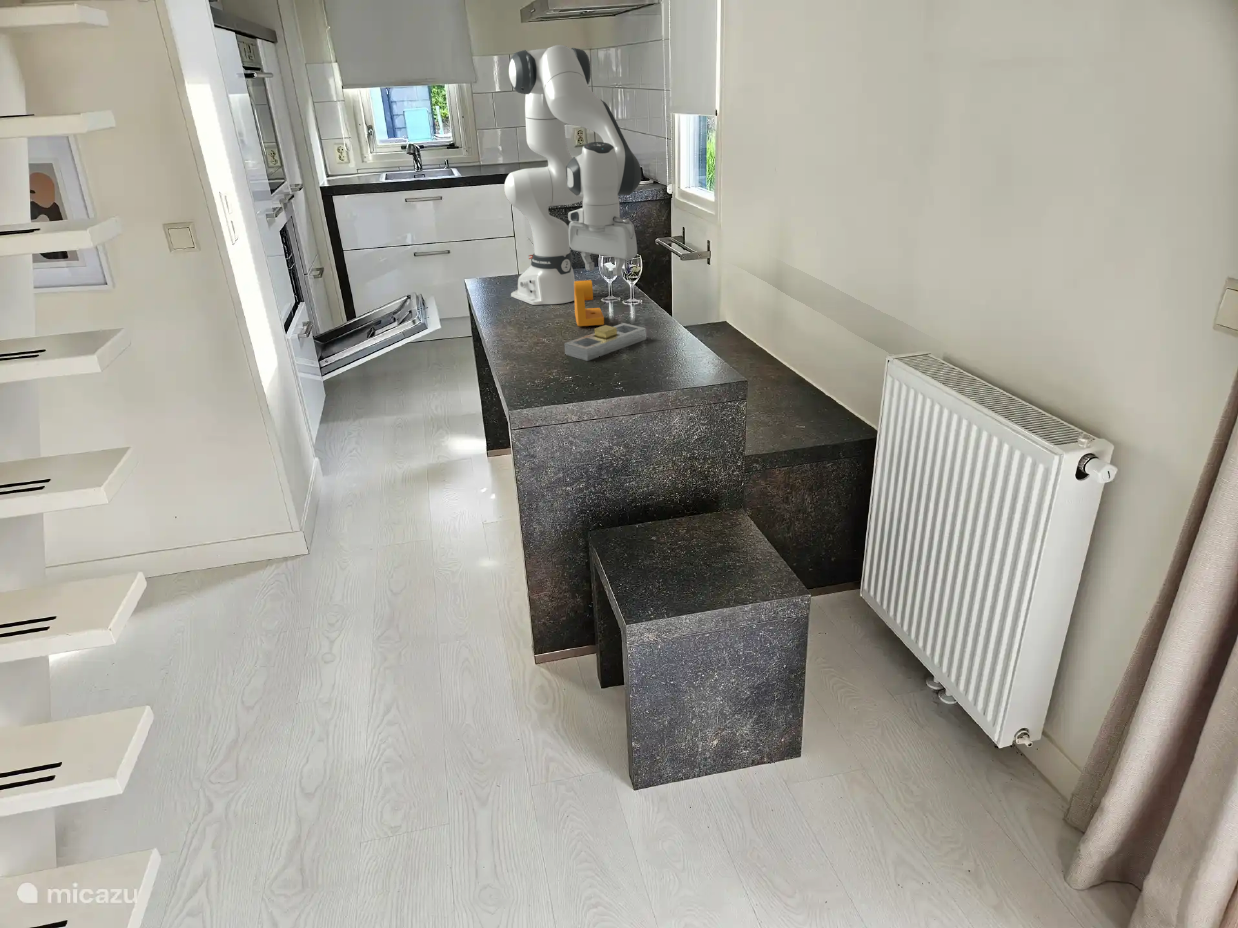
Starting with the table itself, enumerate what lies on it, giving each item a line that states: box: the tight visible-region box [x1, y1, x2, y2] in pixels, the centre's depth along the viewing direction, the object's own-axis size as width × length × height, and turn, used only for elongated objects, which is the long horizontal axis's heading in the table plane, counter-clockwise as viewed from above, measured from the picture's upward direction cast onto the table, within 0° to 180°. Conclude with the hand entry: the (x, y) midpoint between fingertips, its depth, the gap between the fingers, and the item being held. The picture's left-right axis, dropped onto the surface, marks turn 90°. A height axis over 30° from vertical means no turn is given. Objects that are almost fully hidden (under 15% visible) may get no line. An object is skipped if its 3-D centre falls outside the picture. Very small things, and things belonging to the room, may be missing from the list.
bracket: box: [574, 279, 605, 327], centre depth 227 cm, size 11×7×12 cm, turn 8°
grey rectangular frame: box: [563, 322, 647, 361], centre depth 209 cm, size 8×22×3 cm, turn 137°
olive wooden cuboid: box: [594, 324, 617, 340], centre depth 209 cm, size 4×4×5 cm
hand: (603, 272), depth 202 cm, fingers open, 8 cm apart
